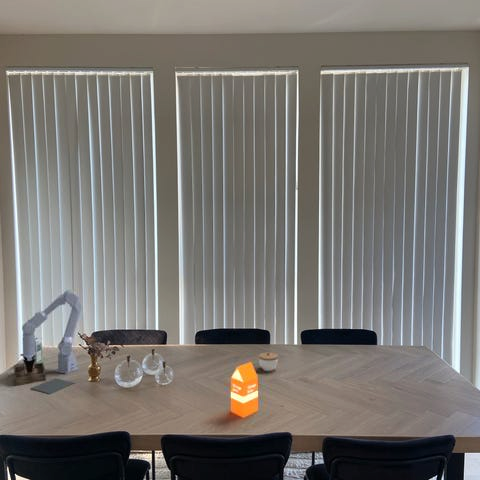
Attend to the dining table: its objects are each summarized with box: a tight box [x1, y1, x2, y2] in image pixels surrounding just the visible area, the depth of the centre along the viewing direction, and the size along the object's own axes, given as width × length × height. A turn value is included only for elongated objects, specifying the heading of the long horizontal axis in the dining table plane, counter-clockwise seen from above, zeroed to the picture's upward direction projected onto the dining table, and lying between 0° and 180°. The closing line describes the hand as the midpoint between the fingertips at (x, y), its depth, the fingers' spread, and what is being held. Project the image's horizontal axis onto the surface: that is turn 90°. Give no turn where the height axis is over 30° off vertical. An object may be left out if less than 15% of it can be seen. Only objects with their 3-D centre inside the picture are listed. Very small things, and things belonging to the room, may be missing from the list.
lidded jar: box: [258, 351, 279, 372], centre depth 209 cm, size 11×11×9 cm
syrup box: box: [33, 337, 43, 364], centre depth 221 cm, size 6×6×14 cm
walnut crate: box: [13, 361, 47, 387], centre depth 201 cm, size 14×20×4 cm
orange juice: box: [230, 361, 259, 419], centre depth 160 cm, size 8×9×20 cm
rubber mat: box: [30, 377, 75, 395], centre depth 188 cm, size 14×14×1 cm
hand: (29, 370), depth 201 cm, fingers open, 6 cm apart
